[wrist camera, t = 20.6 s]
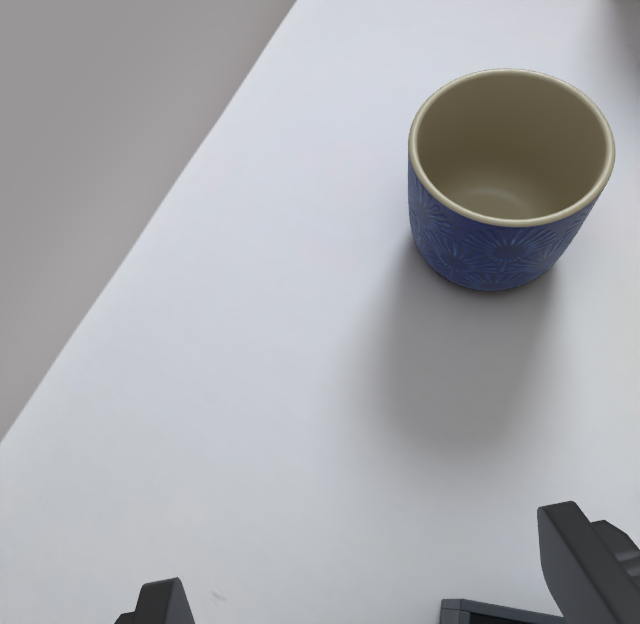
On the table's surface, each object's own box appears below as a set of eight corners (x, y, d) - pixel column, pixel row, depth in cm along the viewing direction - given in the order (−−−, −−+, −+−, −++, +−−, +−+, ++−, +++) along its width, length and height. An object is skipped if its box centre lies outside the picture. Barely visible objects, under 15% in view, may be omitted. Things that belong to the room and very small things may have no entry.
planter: (567, 178, 49) (614, 72, 39) (566, 317, 44) (619, 235, 34) (412, 166, 51) (419, 62, 41) (393, 298, 46) (396, 215, 36)
